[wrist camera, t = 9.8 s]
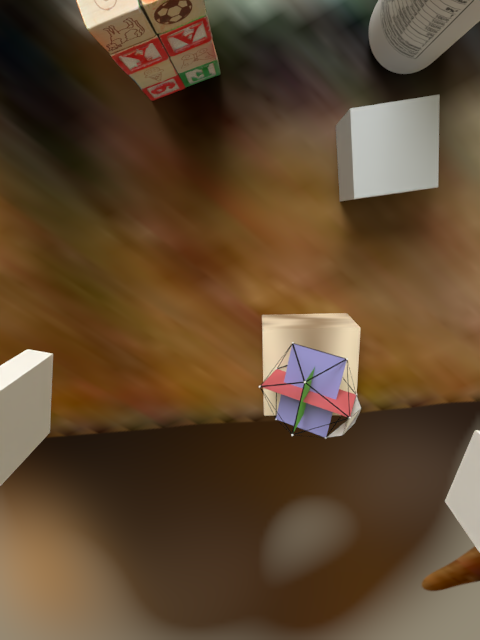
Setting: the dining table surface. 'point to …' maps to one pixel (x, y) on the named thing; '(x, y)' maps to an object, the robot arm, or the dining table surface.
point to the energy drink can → (418, 30)
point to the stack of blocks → (155, 41)
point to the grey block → (388, 148)
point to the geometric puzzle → (312, 391)
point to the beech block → (309, 345)
